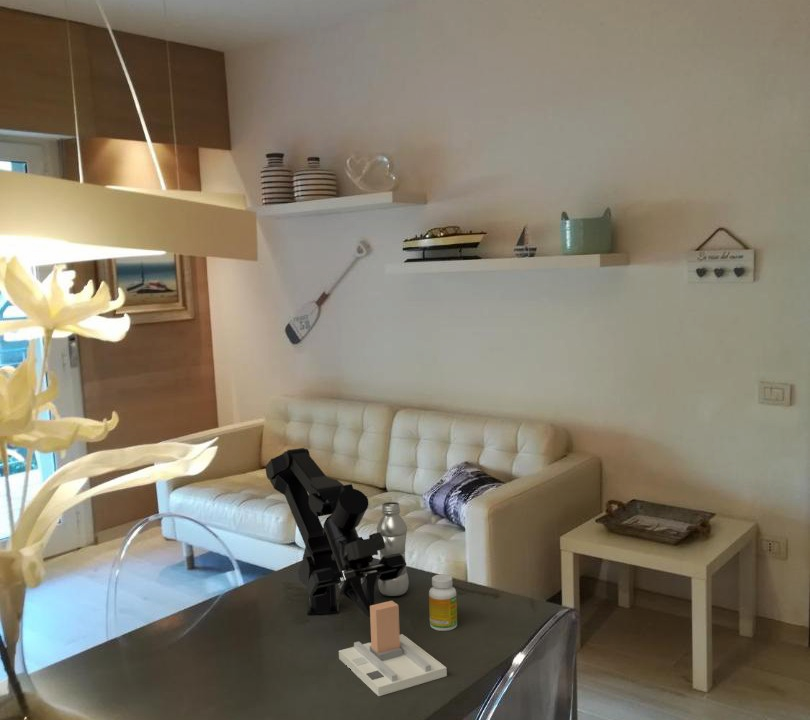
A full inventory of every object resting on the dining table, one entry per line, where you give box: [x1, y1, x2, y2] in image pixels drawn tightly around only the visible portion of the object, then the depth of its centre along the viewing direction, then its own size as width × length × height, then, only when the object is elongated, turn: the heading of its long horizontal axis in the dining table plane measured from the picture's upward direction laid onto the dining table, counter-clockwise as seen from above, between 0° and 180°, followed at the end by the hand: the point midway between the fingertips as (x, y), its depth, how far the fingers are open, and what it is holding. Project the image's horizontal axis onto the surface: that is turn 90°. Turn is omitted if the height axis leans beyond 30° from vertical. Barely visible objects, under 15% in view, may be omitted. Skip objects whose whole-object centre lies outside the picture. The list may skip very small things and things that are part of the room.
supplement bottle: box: [428, 573, 458, 632], centre depth 158 cm, size 5×5×10 cm
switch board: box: [338, 633, 448, 697], centre depth 142 cm, size 16×13×2 cm
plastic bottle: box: [376, 501, 410, 597], centre depth 175 cm, size 6×7×20 cm
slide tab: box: [369, 600, 402, 661], centre depth 144 cm, size 4×4×9 cm
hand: (371, 616), depth 148 cm, fingers closed
